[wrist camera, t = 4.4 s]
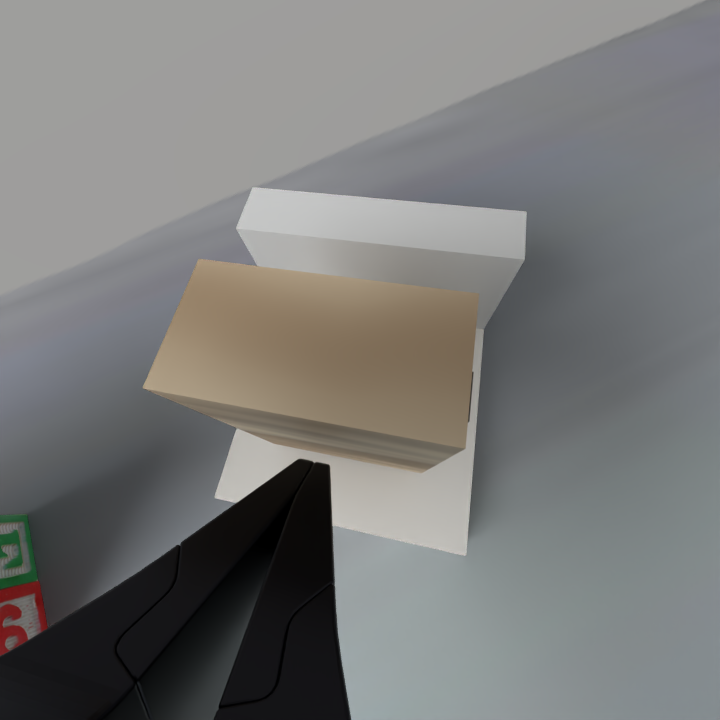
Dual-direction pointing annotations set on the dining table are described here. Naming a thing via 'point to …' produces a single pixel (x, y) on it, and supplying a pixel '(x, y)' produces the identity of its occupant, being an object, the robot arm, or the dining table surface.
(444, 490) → the white l-shaped holder
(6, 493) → the dining table surface
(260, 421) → the two dot key
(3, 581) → the stack of blocks
